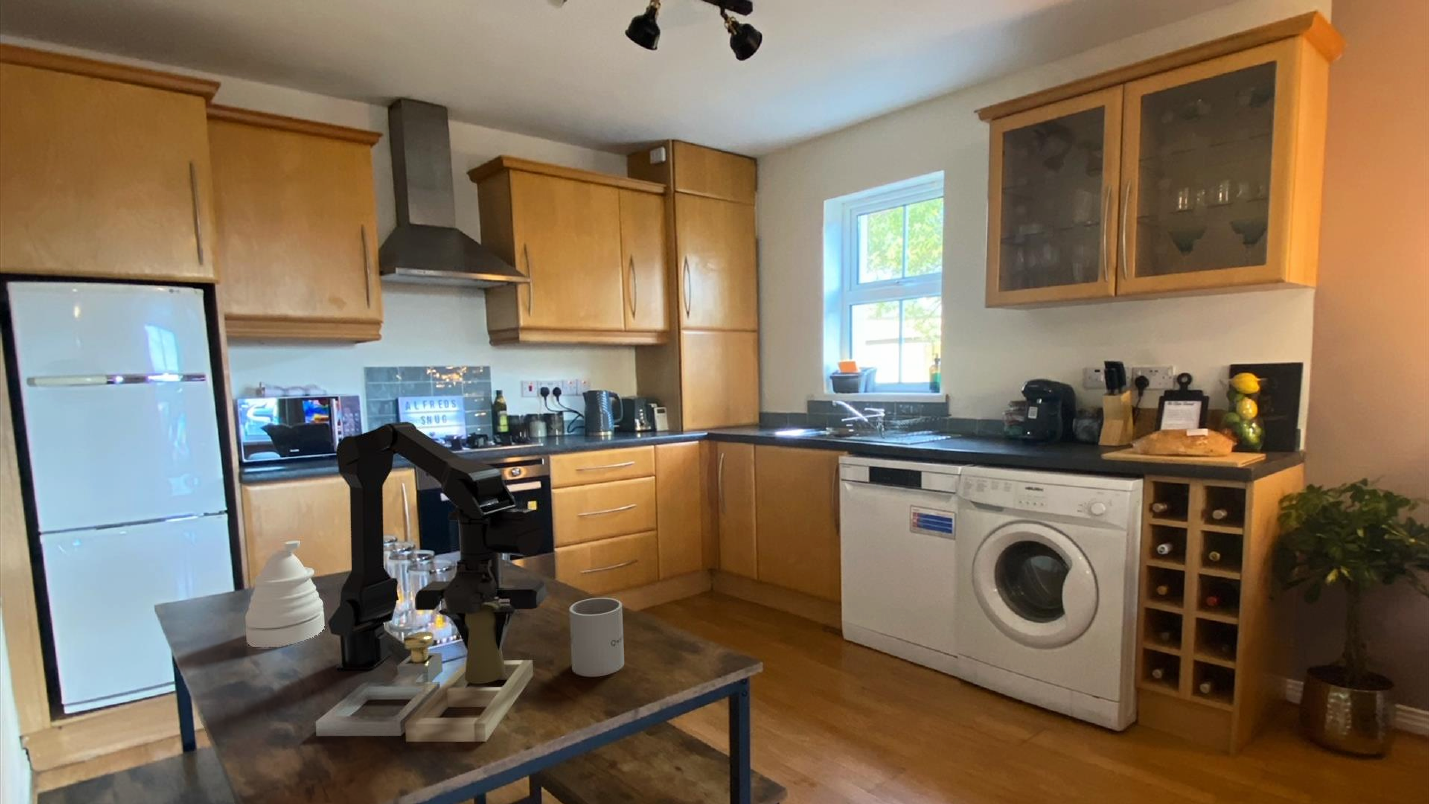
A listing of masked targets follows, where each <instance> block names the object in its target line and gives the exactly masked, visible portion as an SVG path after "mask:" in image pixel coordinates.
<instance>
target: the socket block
mask: <svg viewBox="0 0 1429 804" xmlns="http://www.w3.org/2000/svg"><path fill="white" fill-rule="evenodd" d="M442 655H443V653H442V652H428V658H429V660H428V661H427V662H426V663H425V664H411V654H410V655H409V656H407V657H406V658H405V659H404V660H403V661H402V662H400V663H399V664H398V665H397V666H396V667H397V668H396V669H397V675H396V676H395V677H393V678H392V679H391V680H389V681H383V682H382V681H379V682H377V681H375V682H374V681H373V682H371V681H370V682H367V681H363V683H361V684H360V685H359V686H358V687H357V688H355V689H354V690H353V691H351V693H349V694H348V695H347V696H345V697H344V698H343V699H341V700H340V701H339V702H338V703H337V704H336V705H334V707H331V709H329V710H328V711H327V712H326V713H325V714H324V715H322V716H320V718H319V719H317V720H315V733H316V736H317V737H374V736H375V737H380V736H381V737H382V736H383V737H389V736H390V737H398V736H399V737H401V736H402V735H403V734H404V733H406V730H405V723H406V722H407V721H408V720H409V719H410V718H411V717H412V716H413V715H414V714H415V713H416V712H417V711H418V710H419V709H420V708H421V707H422V706H423V705H424V704H425V703H426V702H427V701H428V700H429V699H430V698H431V697H432V695H433V694H434V693H435V692H436V691H437V690H438V689H439V688H440V687H441V685H440V684H441V683H440V681H434V680H435V679H436V677H438V676H439V675H440V674H441V673H442V672H443V671H444V670H443V656H442ZM370 700H410V701H409V702H408V703H407V704H406V705H405V706H403V708H402V709H401V710H399V712H398V713H396V714H395V715H370V716H369V715H367V716H365V715H363V716H362V715H358V716H357V715H353V714H354V713H355V712H357V710H359V709H360V708H361V707H362V706H363V705H365V704H366V703H367V702H368V701H370Z"/></svg>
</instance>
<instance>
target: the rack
mask: <svg viewBox="0 0 1429 804" xmlns="http://www.w3.org/2000/svg"><path fill="white" fill-rule="evenodd" d="M503 660H504V665H505V674H504V676H503V677H501V678H500V679H497V680H496V681H499V680H501V681H504V680H506V682H505V683H504V685H502V686H499V687H497V686H496V687H493V686H490V687H489V686H487V687H484V686H483V687H482V686H481V687H477V686H475V687H473V686H472V687H469V686H468V685H470V683H469V682H467V681H466V680H465V671H466V661H464V662H463V663H462V664H461V665H460V666H459V668H457V670H456V671H455V672H454V673H453V674H452V675H451V676H450V677H449V678H448V679H447V680H446V681H445V682H444V683H443V684H441V685H440V688H439V689H438V690H437V691H436V692H435V693H434V694H433V695H432V697H431V698H430V699H429V700H428V701H427V702H426V703H425V704H424V705H423V706H422V707H421V708H420V709H419V710H418V711H417V712H416V713H415V714H414V715H413V716H412V717H411V718H410V719H409V720H408V721H407V722H406V723H405V730H406V731H405V742H406V743H408V742H410V743H413V742H415V743H418V742H419V743H420V742H424V743H425V742H429V743H430V742H431V743H433V742H434V743H435V742H436V743H437V742H441V743H442V742H444V743H445V742H447V743H448V742H449V743H450V742H454V743H455V742H457V743H459V742H461V743H462V742H464V743H465V742H470V743H471V742H472V743H473V742H483V743H484V742H485V743H486V742H487V740H488V739H489V738H490V737H491V735H492V734H493V732H494V731H495V729H497V727H498V726H499V724H500V723H501V721H502V720H503V718H504V717H505V716H506V714H507V713H508V712H509V710H510V708H511V707H512V706H513V704H514V703H515V701H516V700H517V699H518V698H519V696H520V694H521V693H522V692H523V690H524V688H526V686H527V684H528V683H529V682H530V681H531V680H532V678H533V676H534V668H533V665H534V664H533V663H534V662H533V660H532V659H523V660H522V659H521V660H520V659H519V660H518V659H516V660H515V659H514V660H513V659H512V660H505V659H503ZM448 708H484V710H483V711H482V712H481V714H480V715H479V716H478V717H441V716H442V715H443V713H445V711H446V710H447V709H448Z"/></svg>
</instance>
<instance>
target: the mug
mask: <svg viewBox="0 0 1429 804" xmlns="http://www.w3.org/2000/svg"><path fill="white" fill-rule="evenodd" d="M569 627H570V629H569V631H570V647H571V649H570V652H571V669H572V672H573V673H574V674H576V675H578V676H582V677H590V678H591V677H602V676H607V675H611V674H614V673H617V672H618V671H620V670H621V669H622V668H623V667H624V666H625V654H624V653H625V651H624V623H623V603H622V602H621V601H620V600H618V599H615V598H612V597H611V598H610V597H594V598H593V597H592V598H587V599H584V600H579V601H577V602H575V603H572V604H571V606H570V607H569Z"/></svg>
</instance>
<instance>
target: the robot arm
mask: <svg viewBox="0 0 1429 804" xmlns="http://www.w3.org/2000/svg"><path fill="white" fill-rule="evenodd" d="M335 454H336V461H337V467H338V468H337V469H338V473H339V474H340V476H341V477H342V478H343V480H344V481H345V483H346V484H347V485H348V486H349V501H350V502H349V504H350V505H349V506H350V509H349V512H350V517H349V518H350V555H351V558H350V559H351V570H350V573H349V575H348V577H347V578H346V580H345V582H344V584H343V585H342V587H341V591H340V593H341V594H340V602H339V606H338V608H337V609H336V610H335V611H334V613H333V614H332V616H331V617H330V619H329V620H328V622H327V623H328V627H329V631H330V634H331V635H335V636H339V640H340V659H341V662H340V663H339V664H338V665H336V666H335V669H336V670H338V671H340V670H343V671H344V670H350V671H351V670H373V669H375V668H376V667H377V666H378V665H380V664H381V663H382V662H384V661H385V660H386V659H387V658H389V657H390V656H391V654H392V651H391V650H389V641H388V640H389V639H388V633H387V632H385V627H386V626H385V623H389V622H391V621H393V618H394V617H393V616H394V613H395V610H396V609H395V608H396V606H397V601H399V600H400V598H399V594H398V585H399V582H398V579H397V577H392V576H391V575H390V574H389V572H388V571H387V570H386V569H385V545H384V544H385V543H384V541H385V540H384V539H385V538H384V535H385V534H384V493H383V491H384V483H385V482H386V480H387V478H388V477H389V475H390V473H391V472H392V470H393V464H394V456H396V455H400V456H401V457H402V458H404V459H405V460H407V461H408V462H410V463H411V464H412V465H414V466H416V467H417V468H418V469H419V470H421V471H422V472H424V473H426V474H427V475H429V476H430V477H432V478H433V479H435V480H436V481H437V482H438V484H440V487H441V492H442V494H443V495H444V496H445V497H446V498H447V499H448V500H449V501H450V502H451V503H452V504H453V505H454V506H455V509H454V510H453V511H452V512H451V513H450V514H448V515H447V520H448V521H455V522H458V538H459V560H457V561H456V570H455V571H456V572H455V576H454V577H453V578H452V579H451V580H448V581H447V580H445V581H444V580H443V581H441V580H439V581H438V580H437V581H436V580H435V581H431V582H429V583H428V584H426V585H424V587H421V588H420V589H419V590H418V591H417V593H416V594H415V597H414V608H415V610H416V611H434V610H436V609H437V608H438V607H439V606H440V609H439V610H438V614H439V615H441V616H443V615H444V616H446V617H448V618H449V619H450V620H451V621H452V622H453V624H454V626H455V627H456V629H457V631H458V633H459V635H460V638H461V640H462V641H463V642H462V643H463V644H464V647H465V648H466V650H467V648H468V637H469V628H468V626H467V625H466V623H465V614H466V613H468V614H474V613H477V612H478V611H479V610H480V609H481V606H482V604H484V603H494V602H495V601H496V602H498V604H499V606H498V608H497V609H496V610H495V611H494V612H493V613H494V615H495V617H496V644H497V647H498V650H500V649H502V647H503V644H504V641H505V638H506V635H507V633H508V629H509V626H510V623H511V621H512V618H513V617H514V614H515V613H516V612H517V611H518V610H533V609H537V608H538V607H539V606H540V605H541V604H542V602H543V601H544V600H545V599H546V598H547V586H546V584H545V582H544V581H543V580H540V579H536V580H533V579H531V580H519V581H518V583H516V584H515V585H514V586H513V587H502V585H503V584H504V576H501V559H503V555H513V556H519V557H532V556H534V555H535V554H536V553H537V552H538V551H539V549H540V548H541V547H542V543H543V541H544V529H543V528H542V524H541V522H540V521H539V520H538V519H537V518H536V517H534V514H533V513H534V512H533V510H532V509H531V508H523V509H519V504H518V503H517V501H516V500H515V497H514V496H513V494H512V493H511V491H510V489H509V487H508V486H507V484H506V482H505V481H504V480H503V478H502V477H503V476H502V474H501V472H500V470H498V468H496V467H494V466H492V465H490V464H487V463H484V462H481V461H477V460H472V459H466V458H463V457H461V456H459V455H458V454H456V453H454V452H453V451H452V450H450V449H448V448H447V447H445V446H443V445H442V444H441V443H439V442H438V441H436V440H434V439H433V438H431V437H430V436H429V435H427V434H425V433H424V432H422V431H421V430H419V429H418V428H417V427H416V425H415V424H414V423H412V422H409V421H400V422H392V423H385V424H383V425H381V426H378V427H377V428H375V429H373V430H369V431H366V432H363V433H361V434H354V435H347V436H345V437H343V438H342V439H341V441H340V442H338V443H337V445H336V453H335Z"/></svg>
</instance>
